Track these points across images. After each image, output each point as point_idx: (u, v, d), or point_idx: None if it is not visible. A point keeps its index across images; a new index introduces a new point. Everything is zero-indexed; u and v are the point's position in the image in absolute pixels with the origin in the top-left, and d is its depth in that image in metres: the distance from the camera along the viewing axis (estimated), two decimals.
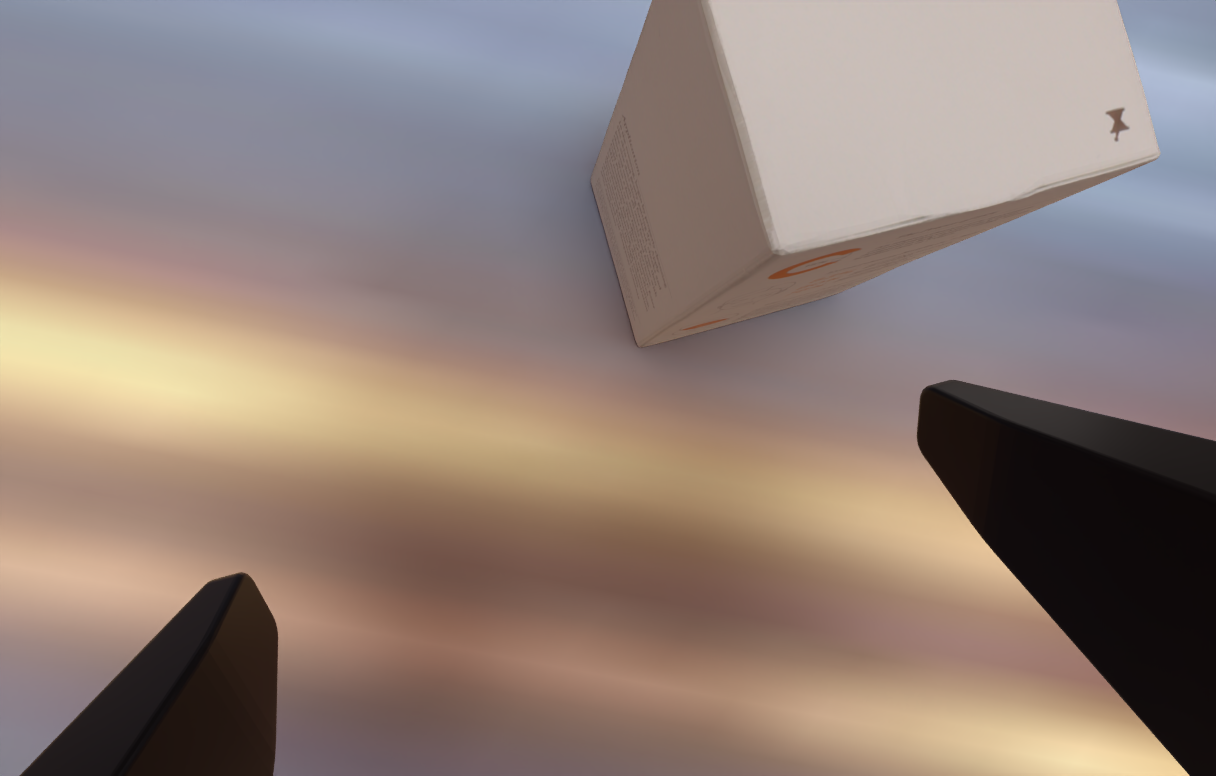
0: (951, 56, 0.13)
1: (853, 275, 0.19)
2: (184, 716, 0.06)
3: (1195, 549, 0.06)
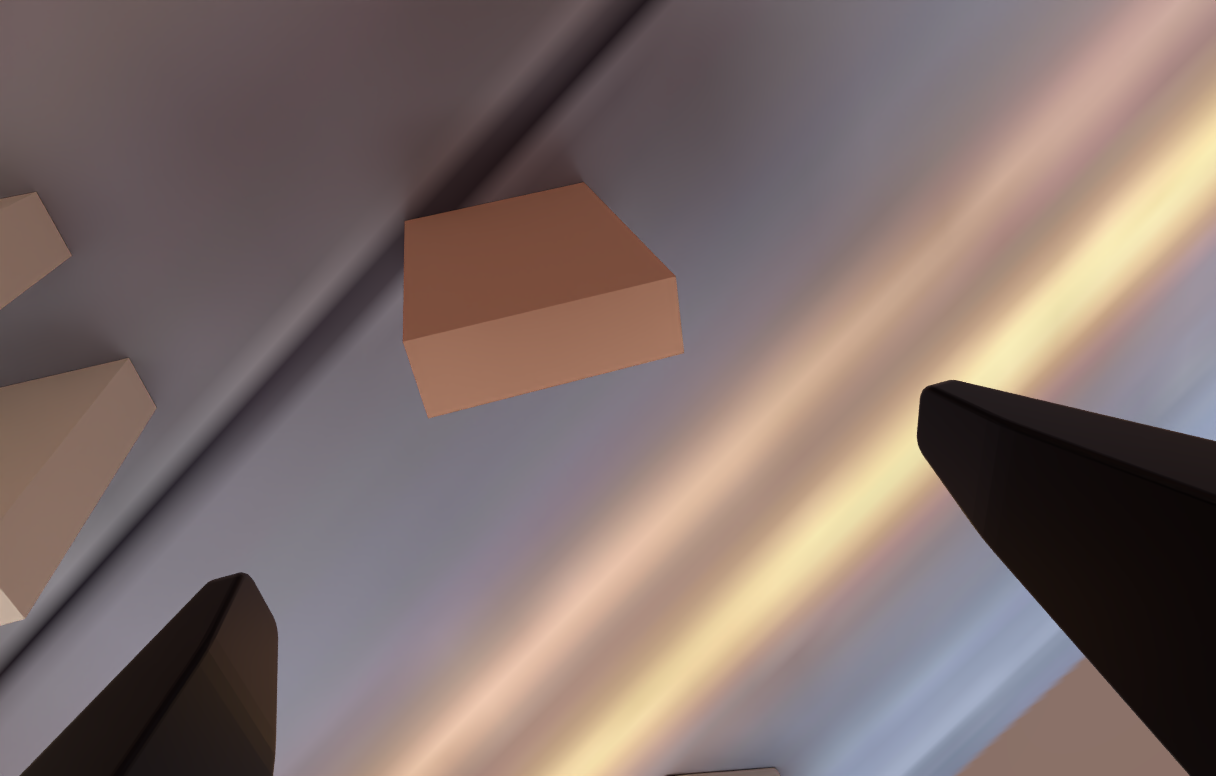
0: None
1: None
2: (184, 716, 0.06)
3: (1195, 549, 0.06)
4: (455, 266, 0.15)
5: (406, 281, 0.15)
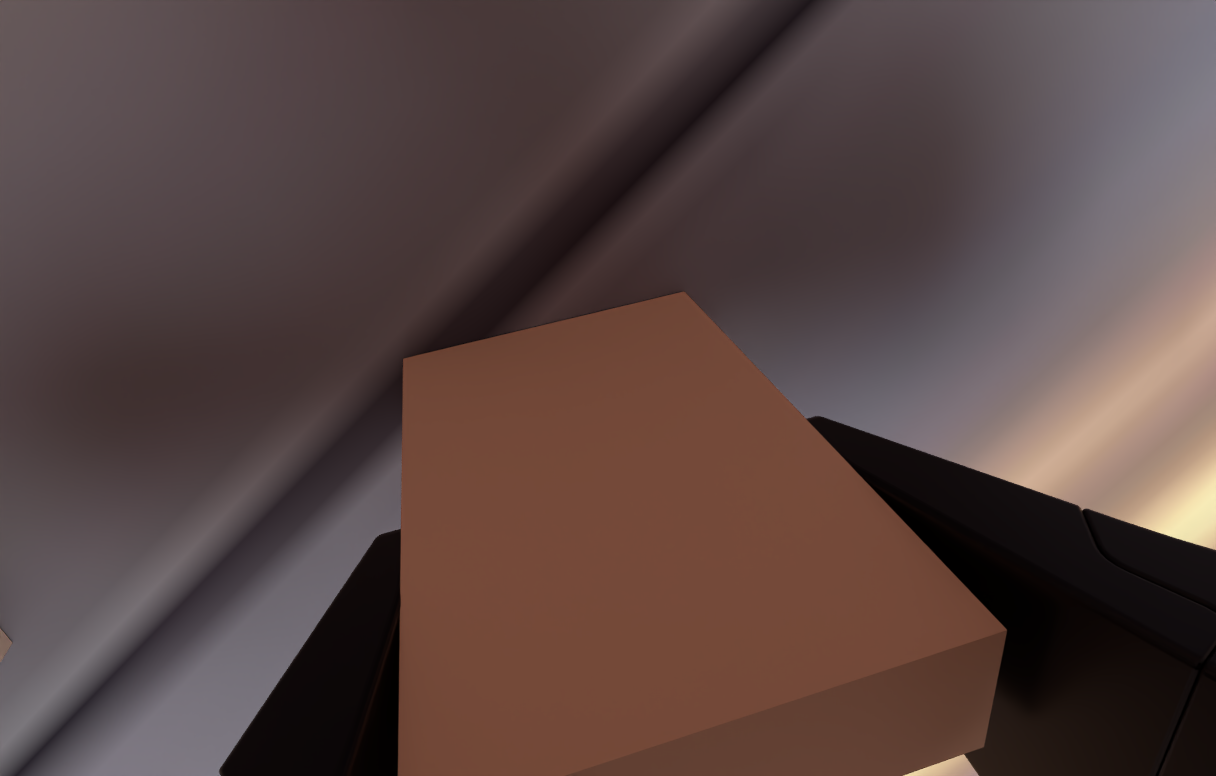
0: None
1: None
2: (398, 654, 0.07)
3: (1006, 611, 0.06)
4: (498, 510, 0.08)
5: (405, 548, 0.08)
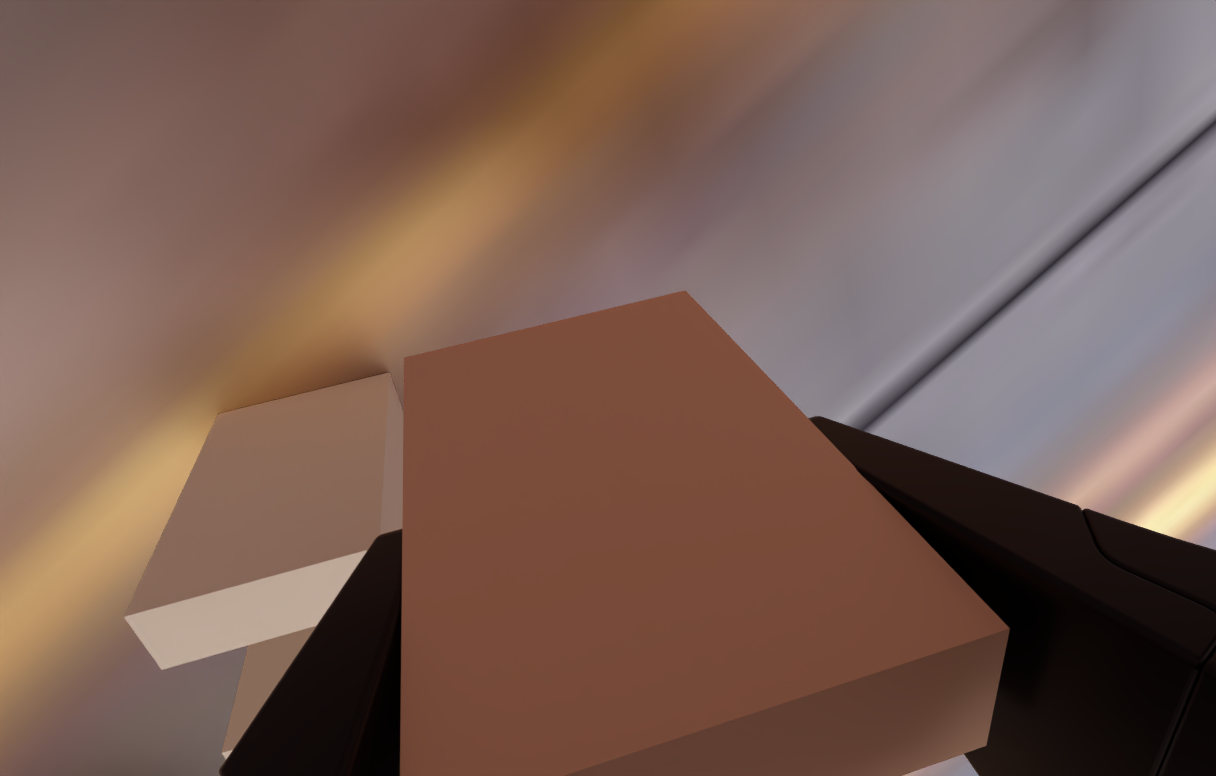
0: None
1: None
2: (398, 653, 0.07)
3: (1007, 611, 0.06)
4: (500, 509, 0.08)
5: (407, 548, 0.08)
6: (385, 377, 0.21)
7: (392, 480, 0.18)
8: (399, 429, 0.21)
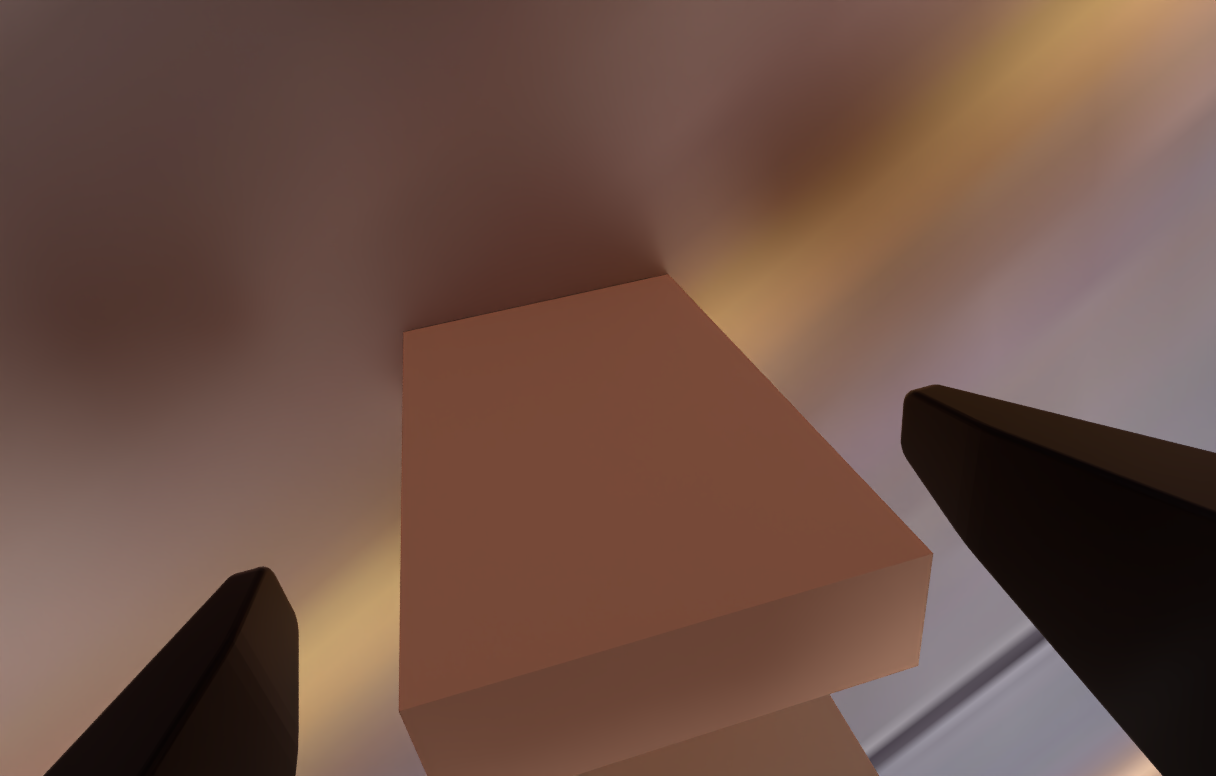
0: None
1: None
2: (212, 708, 0.07)
3: (1172, 557, 0.06)
4: (490, 461, 0.09)
5: (406, 492, 0.09)
6: None
7: None
8: None
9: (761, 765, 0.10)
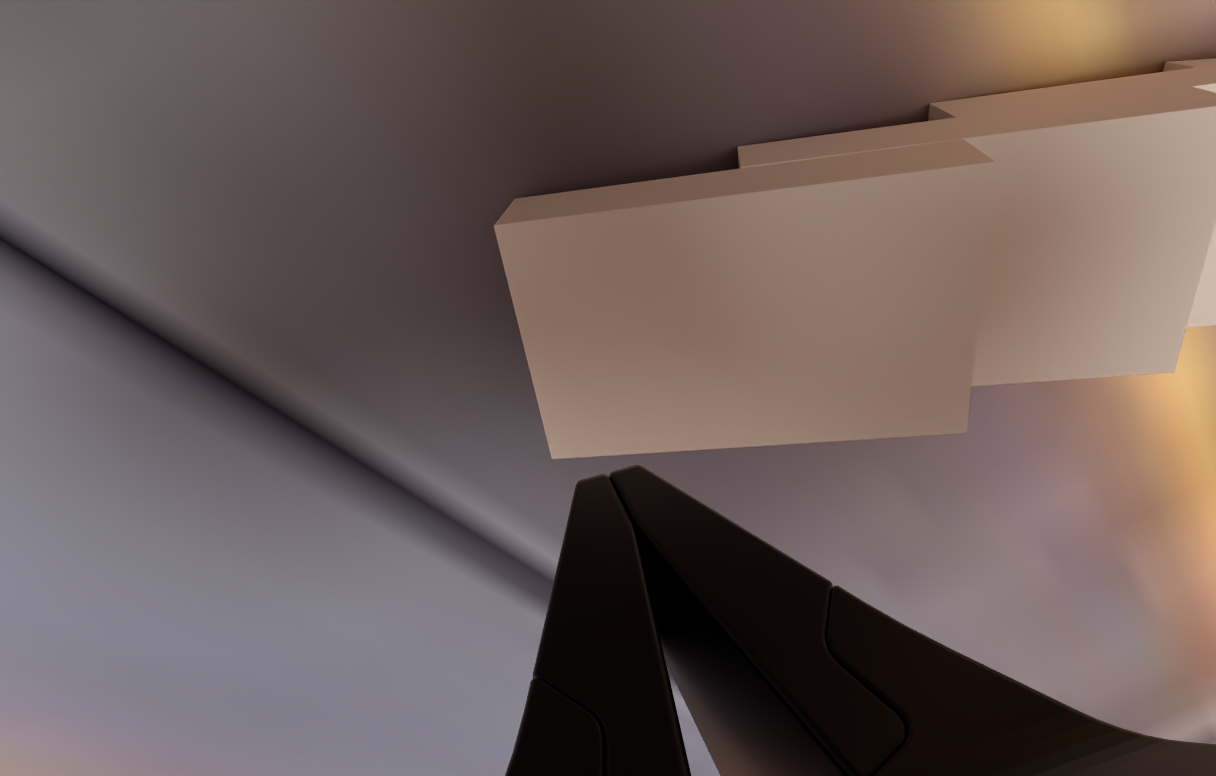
0: None
1: None
2: (646, 580, 0.07)
3: (743, 696, 0.06)
4: None
5: None
6: None
7: None
8: None
9: None
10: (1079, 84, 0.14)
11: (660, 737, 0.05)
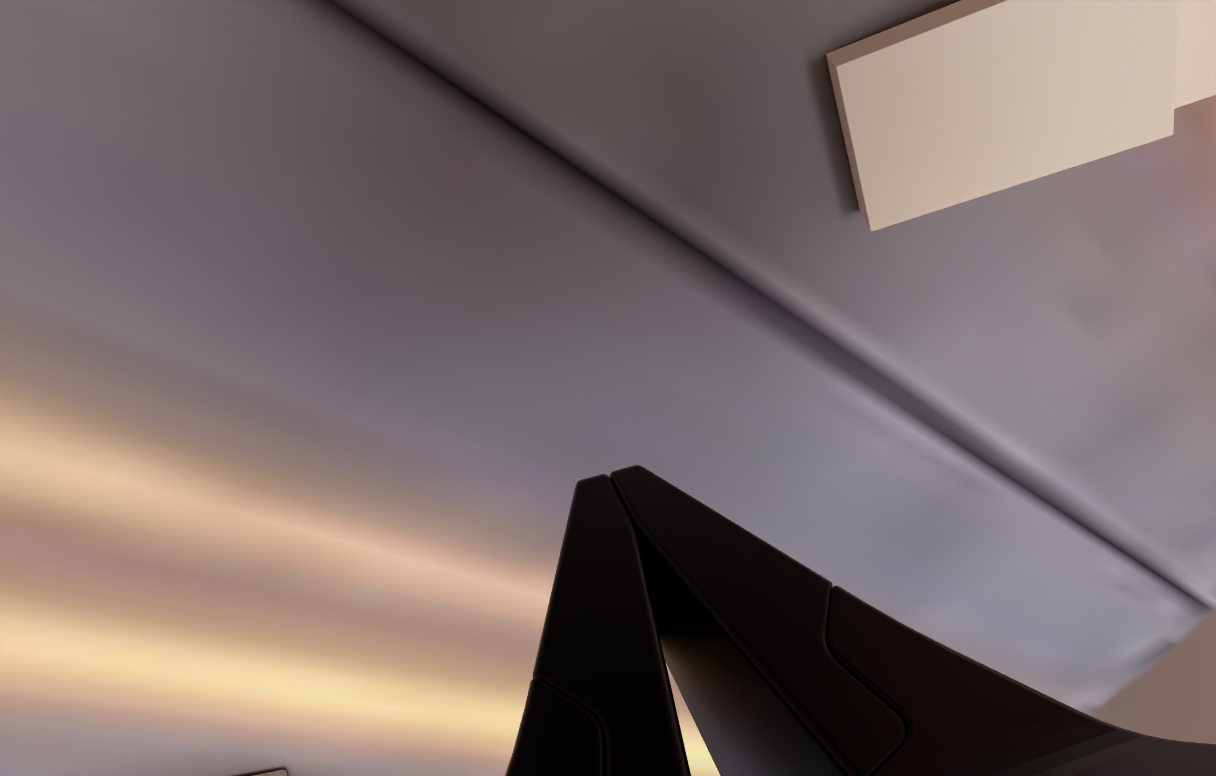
0: None
1: None
2: (646, 580, 0.07)
3: (743, 696, 0.06)
4: None
5: None
6: None
7: None
8: None
9: None
10: None
11: (660, 737, 0.05)
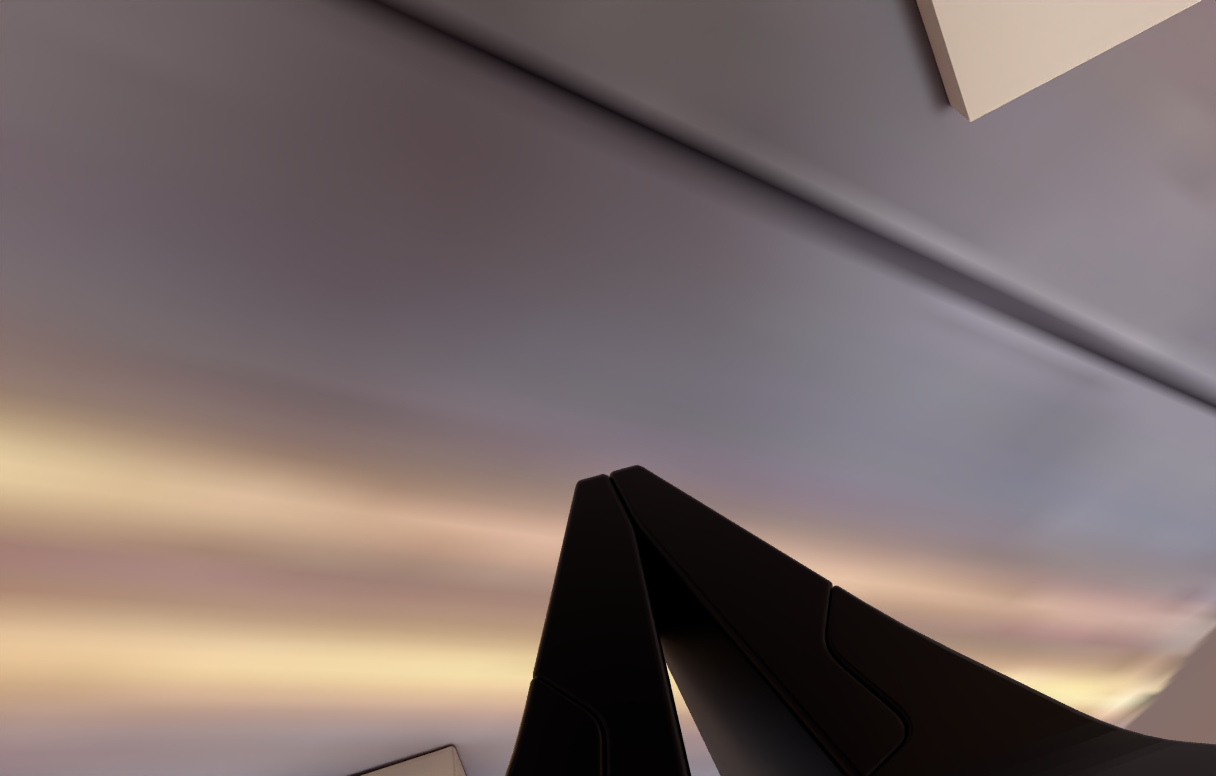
0: None
1: None
2: (646, 580, 0.07)
3: (744, 696, 0.06)
4: None
5: None
6: None
7: None
8: None
9: None
10: None
11: (660, 737, 0.05)
